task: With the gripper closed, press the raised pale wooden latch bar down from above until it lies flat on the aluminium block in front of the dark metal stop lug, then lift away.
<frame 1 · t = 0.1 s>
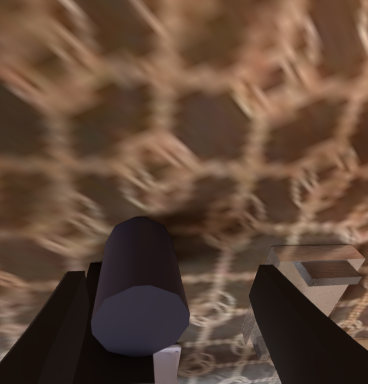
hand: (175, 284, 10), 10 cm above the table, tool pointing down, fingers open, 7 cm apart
latch bar: (313, 343, 25), point 5 cm above the table, hinge at 30.0°
speaker: (132, 239, 22), on the table
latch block: (290, 290, 29), on the table
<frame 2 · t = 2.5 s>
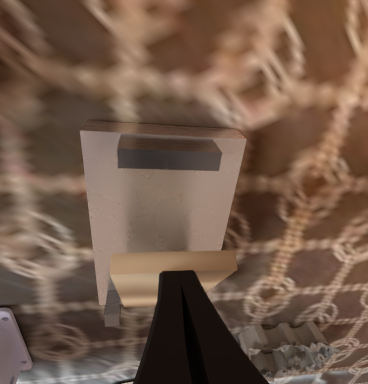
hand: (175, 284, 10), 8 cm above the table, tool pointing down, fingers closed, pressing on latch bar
latch bar: (163, 287, 15), point 5 cm above the table, hinge at 29.3°, touching gripper
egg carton: (273, 335, 31), on the table
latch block: (159, 218, 19), on the table
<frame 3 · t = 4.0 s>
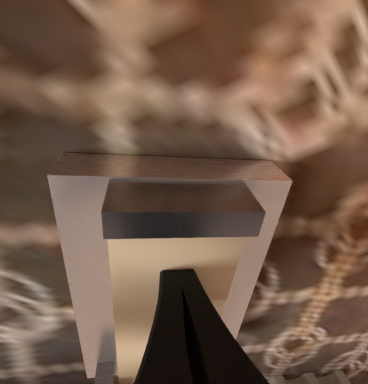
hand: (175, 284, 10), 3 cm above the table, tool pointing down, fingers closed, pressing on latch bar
latch bar: (168, 317, 12), point 3 cm above the table, hinge at 1.9°, touching gripper
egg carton: (294, 383, 26), on the table
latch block: (164, 270, 14), on the table
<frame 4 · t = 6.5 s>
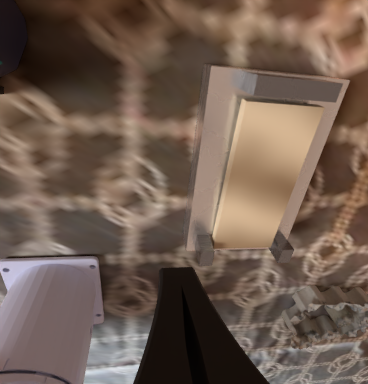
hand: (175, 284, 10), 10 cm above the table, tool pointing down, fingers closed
latch bar: (258, 185, 18), point 3 cm above the table, hinge at 1.8°
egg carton: (320, 300, 32), on the table
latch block: (246, 166, 20), on the table
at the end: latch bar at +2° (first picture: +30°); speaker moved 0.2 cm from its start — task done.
